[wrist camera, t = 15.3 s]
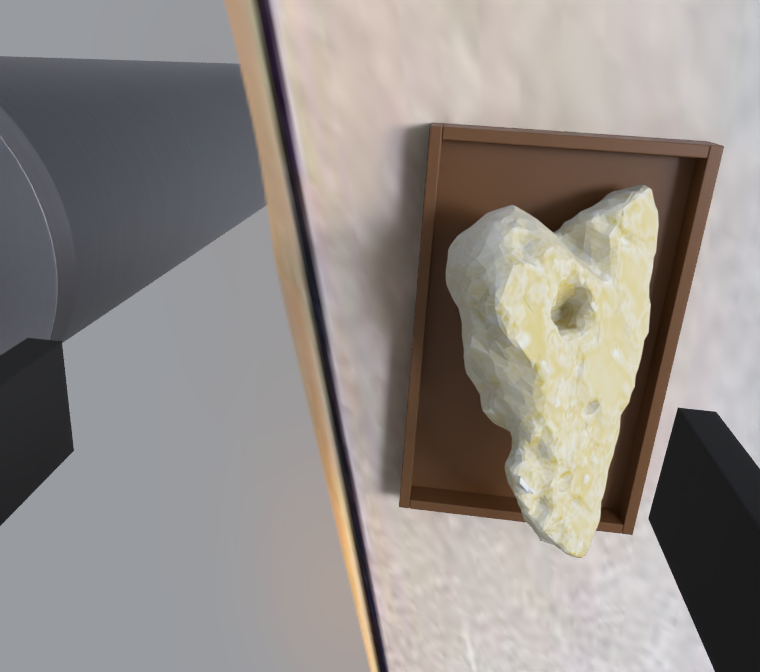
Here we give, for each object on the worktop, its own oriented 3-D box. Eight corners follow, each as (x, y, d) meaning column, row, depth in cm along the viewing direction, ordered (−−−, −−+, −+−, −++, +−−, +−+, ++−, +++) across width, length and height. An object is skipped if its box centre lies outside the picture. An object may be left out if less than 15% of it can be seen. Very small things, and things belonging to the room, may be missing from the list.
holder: (402, 486, 41) (399, 507, 39) (431, 122, 34) (429, 125, 32) (624, 512, 40) (632, 535, 38) (709, 141, 32) (724, 146, 31)
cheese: (494, 123, 35) (311, 346, 30) (621, 102, 29) (418, 375, 24) (609, 323, 43) (479, 524, 38) (727, 338, 37) (590, 579, 32)
